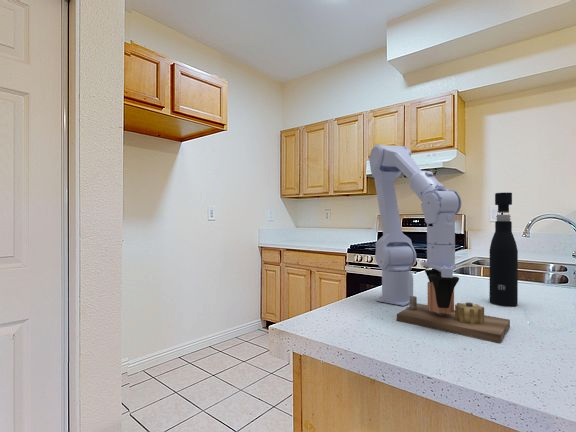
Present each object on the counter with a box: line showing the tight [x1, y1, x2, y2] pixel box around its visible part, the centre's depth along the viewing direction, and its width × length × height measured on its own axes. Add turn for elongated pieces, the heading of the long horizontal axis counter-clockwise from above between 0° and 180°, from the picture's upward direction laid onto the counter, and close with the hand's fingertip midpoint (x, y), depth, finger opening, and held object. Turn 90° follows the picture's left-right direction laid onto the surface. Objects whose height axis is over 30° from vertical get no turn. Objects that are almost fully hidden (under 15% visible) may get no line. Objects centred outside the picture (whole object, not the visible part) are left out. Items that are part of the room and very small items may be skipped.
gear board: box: [396, 295, 511, 344], centre depth 72 cm, size 12×20×5 cm, turn 49°
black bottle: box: [488, 192, 519, 308], centre depth 88 cm, size 6×6×30 cm
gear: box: [427, 281, 455, 314], centre depth 73 cm, size 5×5×6 cm
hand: (440, 303), depth 74 cm, fingers closed on gear, 5 cm apart
